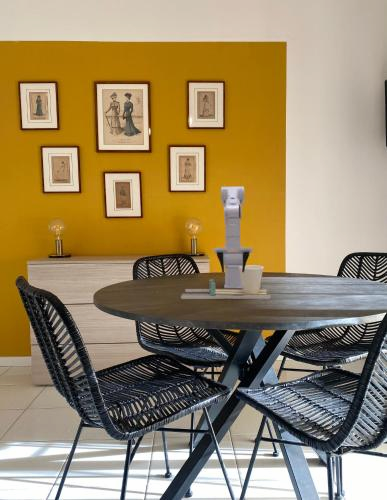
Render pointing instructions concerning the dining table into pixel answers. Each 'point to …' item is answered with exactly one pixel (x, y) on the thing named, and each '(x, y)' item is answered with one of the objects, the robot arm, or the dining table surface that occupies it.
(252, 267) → the cup
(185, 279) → the dining table surface
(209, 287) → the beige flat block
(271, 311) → the dining table surface
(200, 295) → the lane rails
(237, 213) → the robot arm
